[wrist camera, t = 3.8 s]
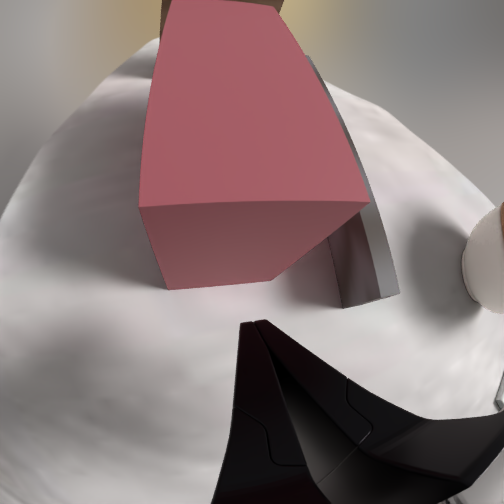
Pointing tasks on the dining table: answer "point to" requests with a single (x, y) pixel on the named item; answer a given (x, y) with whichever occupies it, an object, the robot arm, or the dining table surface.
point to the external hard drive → (501, 395)
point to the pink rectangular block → (239, 149)
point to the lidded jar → (486, 261)
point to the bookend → (350, 227)
